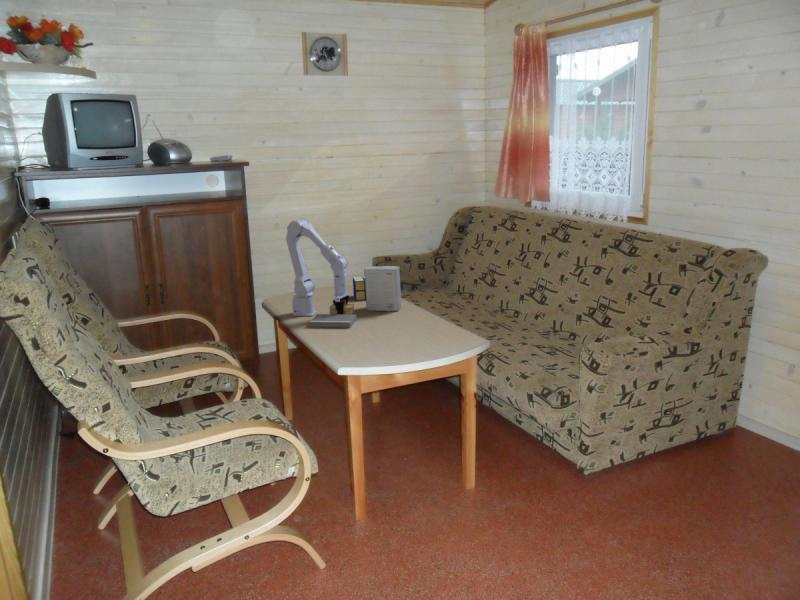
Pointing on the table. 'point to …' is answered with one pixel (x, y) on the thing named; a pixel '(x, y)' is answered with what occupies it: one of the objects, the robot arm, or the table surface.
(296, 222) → the robot arm
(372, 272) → the hard drive box
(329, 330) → the table surface
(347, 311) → the tan rectangular block
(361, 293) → the puzzle cube
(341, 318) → the loading dock
